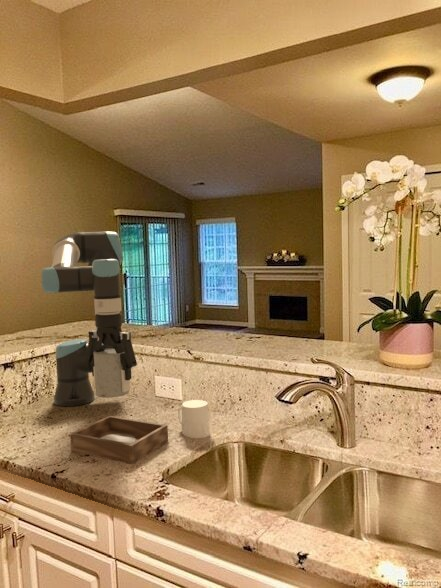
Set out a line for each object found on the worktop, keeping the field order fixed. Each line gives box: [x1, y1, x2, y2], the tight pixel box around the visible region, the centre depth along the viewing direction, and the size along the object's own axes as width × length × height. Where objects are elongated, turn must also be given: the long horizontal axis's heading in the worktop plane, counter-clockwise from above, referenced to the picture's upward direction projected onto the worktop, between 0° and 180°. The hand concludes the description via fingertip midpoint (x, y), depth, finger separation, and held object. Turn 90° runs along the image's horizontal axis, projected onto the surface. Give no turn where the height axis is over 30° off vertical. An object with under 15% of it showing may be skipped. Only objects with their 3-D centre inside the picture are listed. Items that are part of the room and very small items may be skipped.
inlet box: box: [69, 415, 169, 465], centre depth 144 cm, size 17×22×5 cm
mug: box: [177, 399, 211, 439], centre depth 153 cm, size 12×9×8 cm
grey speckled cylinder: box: [93, 348, 130, 399], centre depth 144 cm, size 10×10×12 cm
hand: (112, 389), depth 144 cm, fingers closed on grey speckled cylinder, 9 cm apart
